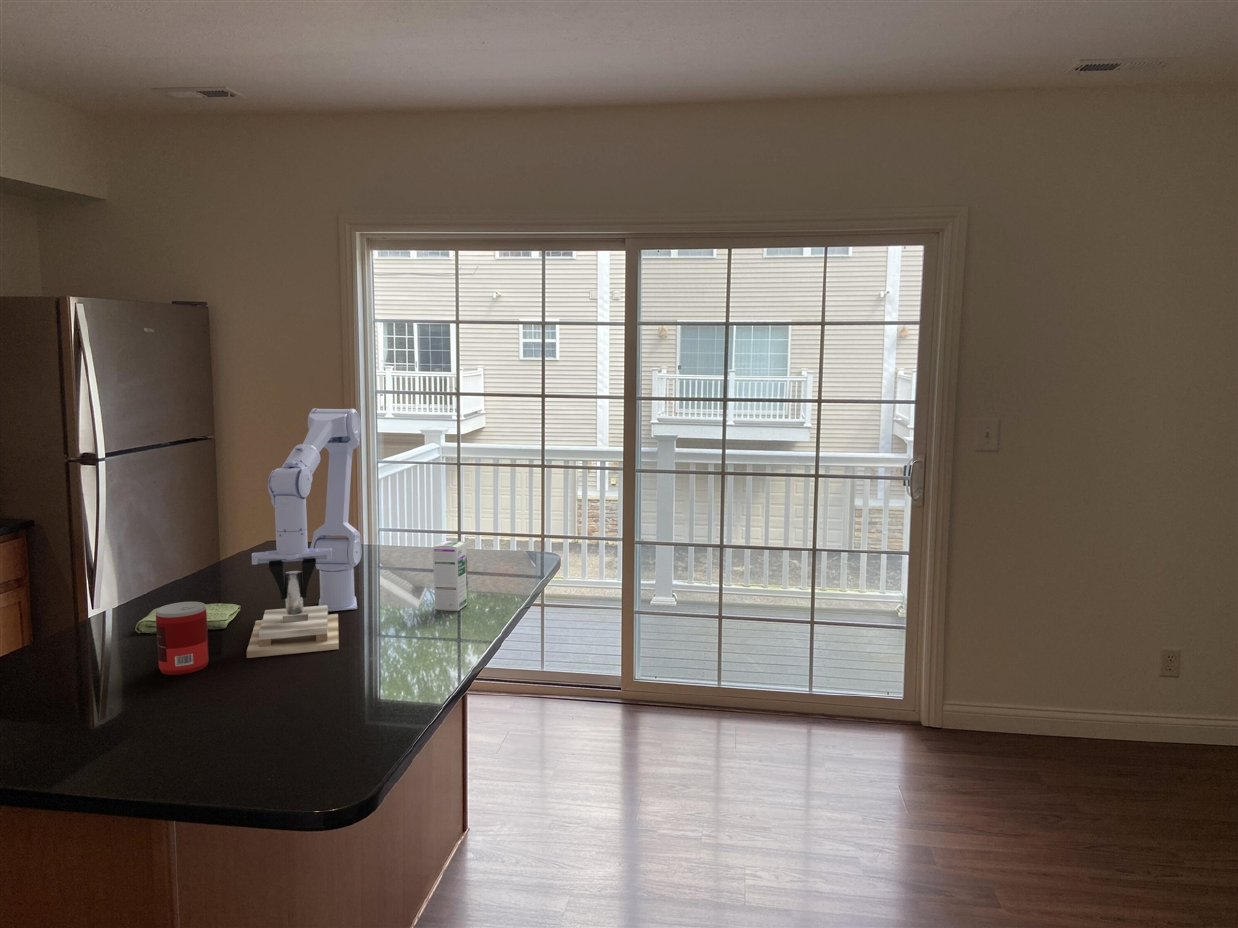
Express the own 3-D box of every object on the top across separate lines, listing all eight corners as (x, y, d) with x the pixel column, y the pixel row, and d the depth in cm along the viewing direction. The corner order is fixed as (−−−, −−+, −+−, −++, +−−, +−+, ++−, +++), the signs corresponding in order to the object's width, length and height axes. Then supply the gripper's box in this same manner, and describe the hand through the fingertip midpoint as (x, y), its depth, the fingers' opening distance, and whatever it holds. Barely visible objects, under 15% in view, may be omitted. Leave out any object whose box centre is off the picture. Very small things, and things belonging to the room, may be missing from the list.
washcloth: (229, 631, 171) (228, 616, 171) (133, 637, 167) (132, 621, 167) (242, 613, 184) (241, 599, 183) (153, 618, 180) (152, 603, 179)
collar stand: (256, 626, 173) (255, 608, 173) (338, 619, 178) (337, 601, 178) (246, 657, 154) (245, 637, 154) (338, 648, 159) (338, 629, 159)
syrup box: (458, 611, 184) (457, 546, 183) (433, 609, 185) (432, 545, 184) (468, 604, 190) (467, 541, 188) (444, 602, 191) (442, 540, 189)
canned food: (218, 662, 152) (215, 603, 150) (182, 678, 144) (179, 615, 143) (185, 657, 154) (182, 599, 153) (148, 672, 147) (145, 611, 145)
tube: (286, 610, 167) (285, 571, 166) (304, 609, 167) (302, 570, 167) (285, 615, 164) (283, 575, 163) (302, 614, 164) (301, 574, 164)
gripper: (249, 535, 158) (252, 605, 159) (330, 530, 162) (333, 599, 164) (252, 528, 164) (255, 596, 166) (330, 524, 169) (333, 590, 170)
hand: (294, 597), depth 165 cm, fingers closed on tube, 3 cm apart
